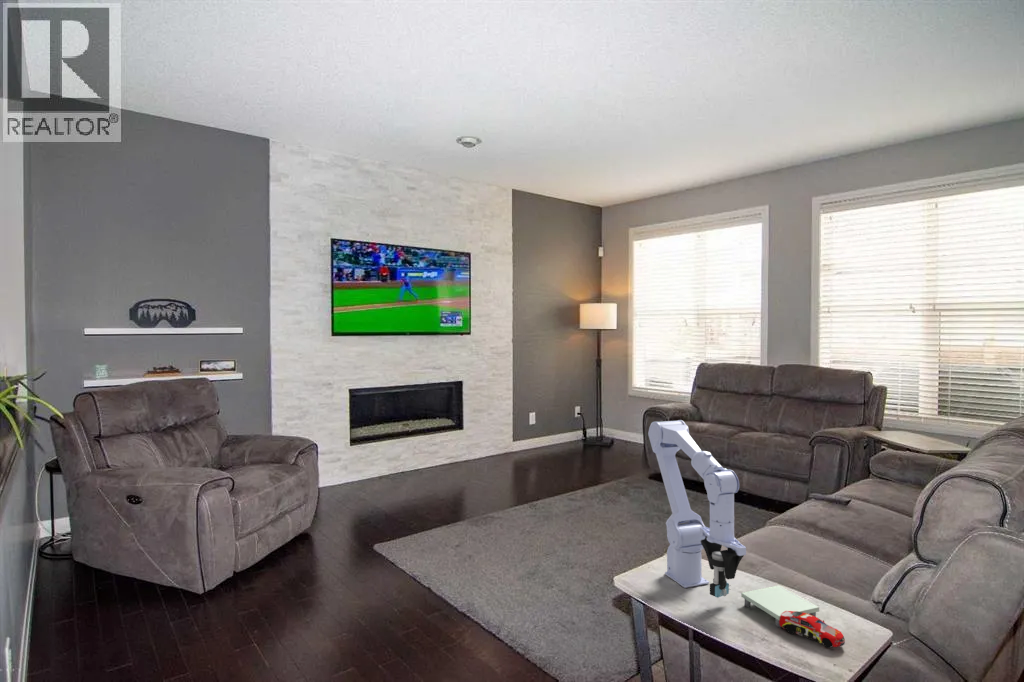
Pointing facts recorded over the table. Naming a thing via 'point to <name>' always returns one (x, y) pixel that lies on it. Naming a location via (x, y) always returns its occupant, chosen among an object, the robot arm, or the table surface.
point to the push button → (718, 576)
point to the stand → (778, 602)
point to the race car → (811, 628)
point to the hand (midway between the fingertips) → (722, 573)
